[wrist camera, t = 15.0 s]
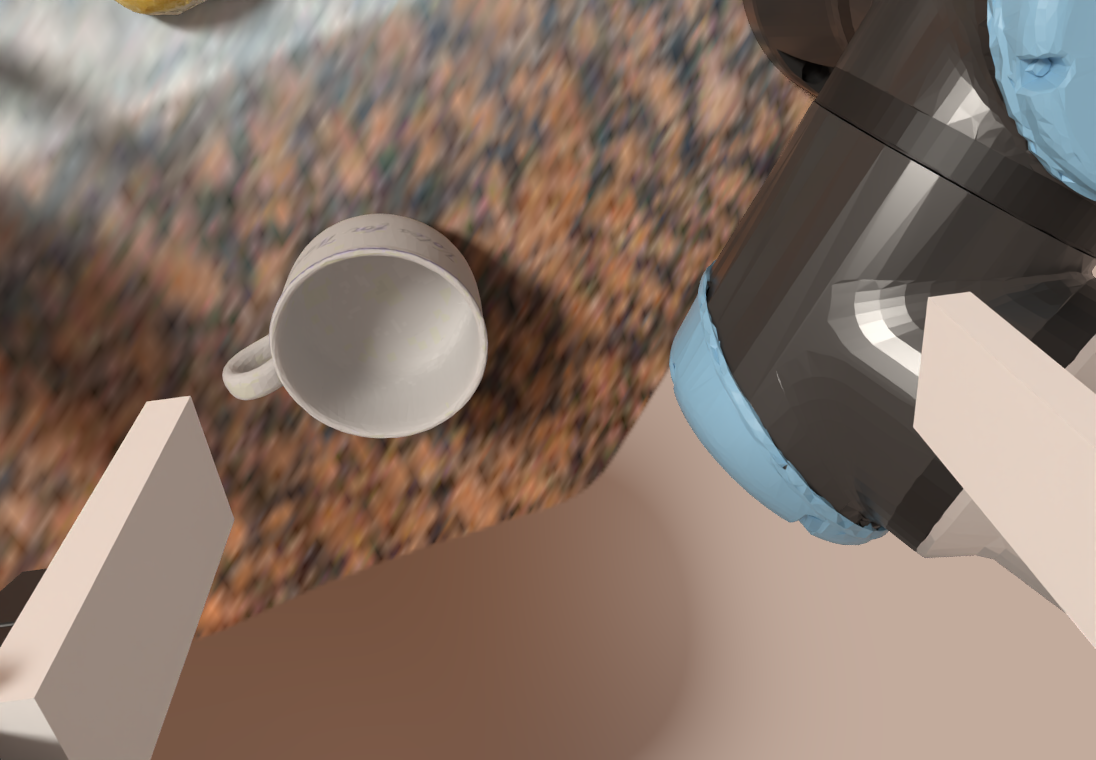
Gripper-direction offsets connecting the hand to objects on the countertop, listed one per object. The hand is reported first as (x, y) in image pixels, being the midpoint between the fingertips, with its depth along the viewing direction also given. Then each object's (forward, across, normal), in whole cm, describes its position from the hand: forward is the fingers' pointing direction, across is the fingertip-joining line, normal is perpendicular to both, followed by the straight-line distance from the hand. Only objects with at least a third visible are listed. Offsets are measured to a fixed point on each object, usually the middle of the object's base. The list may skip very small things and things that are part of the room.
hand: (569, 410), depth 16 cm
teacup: (+34, +9, +11) cm, 37 cm away
